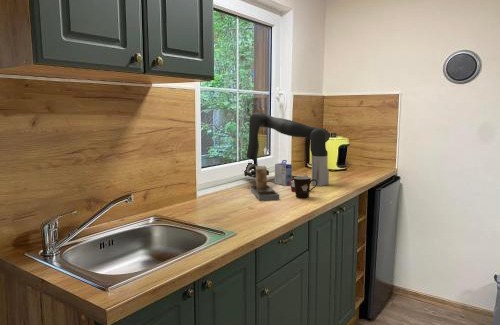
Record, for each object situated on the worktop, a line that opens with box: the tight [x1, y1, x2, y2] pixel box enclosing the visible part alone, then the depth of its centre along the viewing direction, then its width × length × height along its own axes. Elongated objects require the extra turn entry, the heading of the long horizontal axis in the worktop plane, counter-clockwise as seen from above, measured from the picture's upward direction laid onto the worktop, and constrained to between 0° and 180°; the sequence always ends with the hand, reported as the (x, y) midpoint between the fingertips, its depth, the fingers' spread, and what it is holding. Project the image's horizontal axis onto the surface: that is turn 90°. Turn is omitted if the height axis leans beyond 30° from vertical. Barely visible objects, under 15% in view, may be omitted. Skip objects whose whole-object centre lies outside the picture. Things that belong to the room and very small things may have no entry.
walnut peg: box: [255, 165, 268, 189], centre depth 202 cm, size 5×5×14 cm
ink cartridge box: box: [274, 159, 293, 186], centre depth 223 cm, size 10×6×14 cm, turn 39°
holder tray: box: [250, 184, 280, 202], centre depth 195 cm, size 10×26×2 cm, turn 9°
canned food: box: [290, 174, 309, 193], centre depth 203 cm, size 11×10×10 cm
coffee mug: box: [293, 175, 318, 200], centre depth 187 cm, size 12×9×10 cm
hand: (258, 174), depth 211 cm, fingers open, 8 cm apart
